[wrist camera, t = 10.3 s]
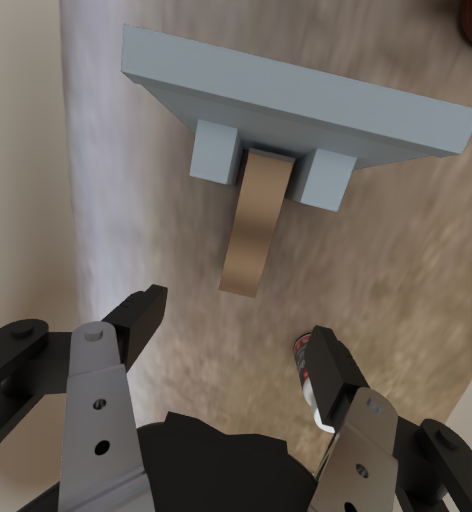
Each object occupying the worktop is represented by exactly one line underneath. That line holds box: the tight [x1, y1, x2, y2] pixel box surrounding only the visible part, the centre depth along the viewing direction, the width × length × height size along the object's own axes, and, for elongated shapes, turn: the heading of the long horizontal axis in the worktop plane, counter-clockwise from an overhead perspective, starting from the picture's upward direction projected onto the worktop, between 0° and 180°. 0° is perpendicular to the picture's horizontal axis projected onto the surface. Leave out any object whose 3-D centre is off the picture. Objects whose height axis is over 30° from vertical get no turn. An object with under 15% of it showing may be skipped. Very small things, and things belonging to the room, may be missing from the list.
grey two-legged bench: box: [121, 24, 472, 212], centre depth 18 cm, size 6×16×15 cm, turn 77°
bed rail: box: [219, 148, 296, 298], centre depth 24 cm, size 14×4×6 cm, turn 167°
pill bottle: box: [294, 334, 335, 433], centre depth 27 cm, size 6×6×10 cm
